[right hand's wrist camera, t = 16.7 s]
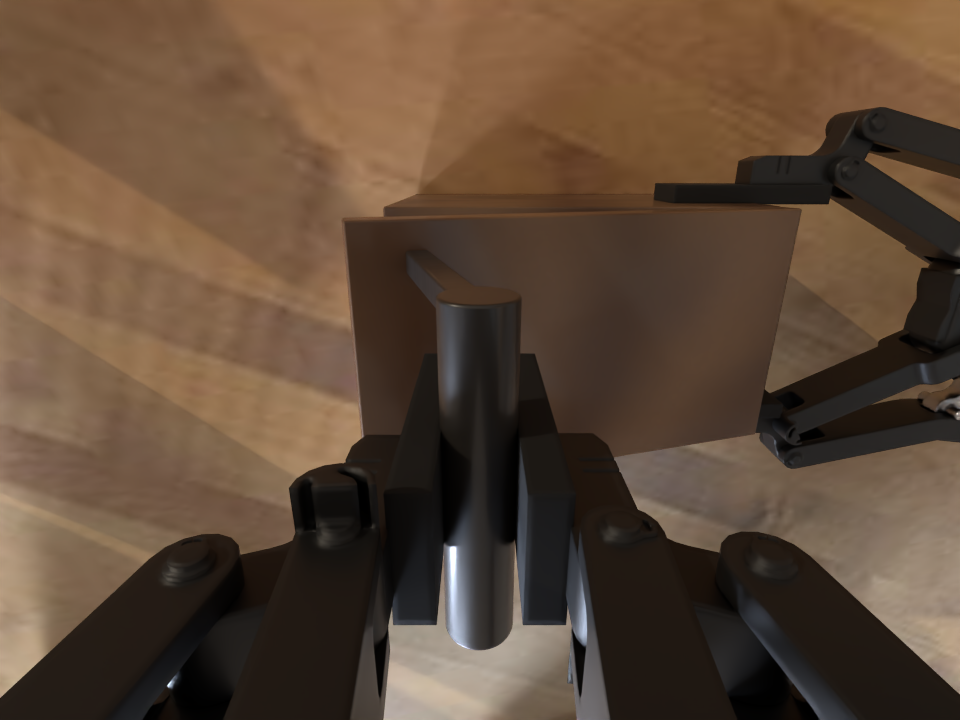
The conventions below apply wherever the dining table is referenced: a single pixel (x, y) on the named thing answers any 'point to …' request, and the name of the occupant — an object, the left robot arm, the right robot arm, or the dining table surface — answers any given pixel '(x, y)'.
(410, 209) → the chest
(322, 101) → the dining table surface
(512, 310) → the chest lid with handle
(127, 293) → the dining table surface
